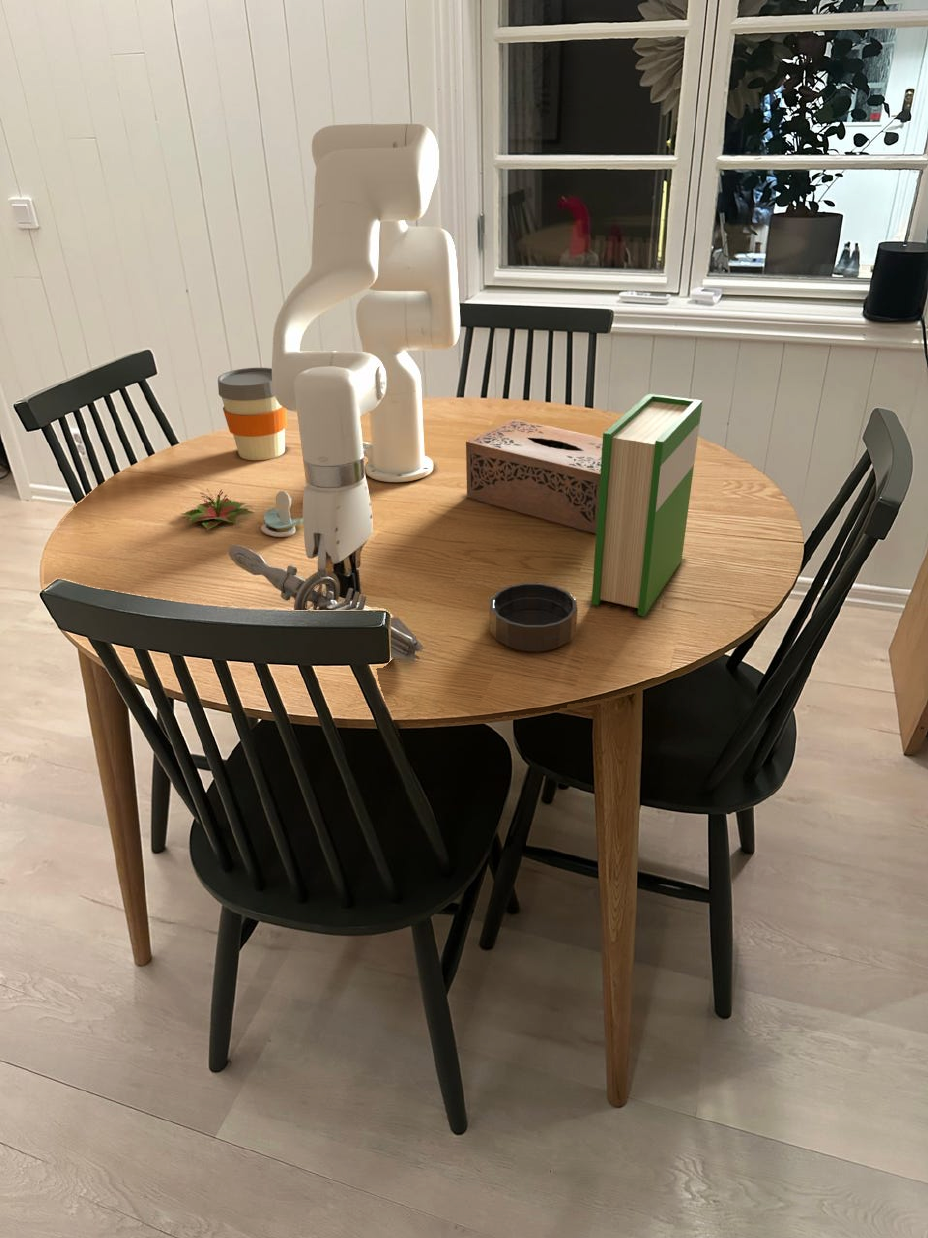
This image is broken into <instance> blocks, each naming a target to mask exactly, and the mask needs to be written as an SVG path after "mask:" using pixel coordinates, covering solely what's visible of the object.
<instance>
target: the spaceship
mask: <svg viewBox="0 0 928 1238" xmlns="http://www.w3.org/2000/svg"><path fill="white" fill-rule="evenodd" d="M227 552H228V556H229V557H230V560H231V561H232V562H233V563H234V564H235V565H236V566H238V567H239V568H240V569H242V570H244V571H246V572H247V573H250V574H251V575H254V576H263V577H264V578H265V579H266V580H267V581H268V582H269V583H270V584H271V585H272V586H273V588H275V589H276V590H279V591H280V592H281V593H280V598H281V599H283V600H285V601H286V602H288V601H290V600H291V598H293V600H294V605H293V611H294V610H308V611H310V610H311V611H313V610H361V611H363V610H365V611H369V610H374V609H372V607H370V606H368V605H366V599H367V596H366V595H365V594H360V593H359V592H355V595H354V598H353V600H351V598H352V593H353V589H351V588H349V590H348V593H347V596H346V598H344V599H343V600H342V601H339V598H340V597H339V594H340V583H339V580H338V578H337V576H336V575H335V574H334V573H333V572H328V574H326V573H325V571H319V572H318V571H317V572H315V573H313V574H311V575H310V576H309V577H307V578H303V577H301V576H299V575H298V574H297V572H298V568H297V567H296V566H295V565H292V564H290V565H287V568H284V567H278V566H272V565H270V564H268V563H267V562H266V561H265V559H264V558H263V557H262V556H261V555H260V554H258V553H257V552H256V551H253V550H251V548H248V547H246V546H243V545H239V544H238V545H237V544H235V545H231V546H229V548H228V551H227ZM323 585H324V586H325V588H324V589H323ZM317 588H318V589H317ZM316 589H317V590H316ZM359 594H360V595H361V597H360V595H359ZM308 602H311V604H310V605H309V606H308ZM390 618H391V657H390V659H396V660H401V659H402V660H407V661H411V662H414V661H415V660H417V659H418V660H421V659H420V657H419V656H418V655H417V654H415V653H416V652H421V651H423V649H424V646H423V645H422V644H421V643H420V641H419V640H418V639H417V638H418V637H416V635H414V633H413V632H412V631H411V630H410V629H409V628H408V626H406V625H405V624H404V622H403V621H402V620H401V619H400V618H399V617H390Z"/></svg>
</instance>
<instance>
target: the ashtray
mask: <svg viewBox="0 0 928 1238" xmlns="http://www.w3.org/2000/svg"><path fill="white" fill-rule="evenodd" d="M577 621H578V603H577V599H576V597H574V596H573V595H572V594H571V593H570V592H569V591H567V590H565V589H563V588H561V587H559V586H557V585H553V584H552V585H551V584H547V583H542V582H522V583H517V584H512V585H508V586H505V587H503V588H501V589H500V590H498V591H496V592H495V593H494V595H492V596H491V598H490V600H489V632H490V633H491V635H492V637H494V639H495V640H496V641H497V642H499V643H501V644H502V645H504V646H506V647H508V648H510V649H513V650H517V651H520V652H526V653H527V652H528V653H540V652H547V651H553V650H555V649H558V648H560V647H562V646H564V645H565V644H567V643H569V642H571V641H572V639H573V637H574V636H575V635H576V632H577V623H578V622H577Z"/></svg>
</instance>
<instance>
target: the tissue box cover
mask: <svg viewBox="0 0 928 1238" xmlns="http://www.w3.org/2000/svg"><path fill="white" fill-rule="evenodd" d="M602 444H603V436H598V435H593V434H589V433H583V432H579V431H575V430H570V429H565V428H561V427H556V426H551V425H547V424H543V423H537V422H533V421H528V420H523V419H519V418H513V419H510V420H508V421H506V422H504V423H502V424H500V425H498V426H495V427H493V428H492V429H489V430H487V431H485V432H483V433H481V434H479V435H476V436H474V437H473V438H471V439H469V440H466V441H465V461H466V462H465V463H466V465H465V466H466V467H465V468H466V469H465V470H466V498H468V499H473V500H476V501H478V502H483V503H487V504H490V505H493V506H497V507H500V508H503V509H506V510H507V509H508V510H511V511H514V512H517V513H521V514H525V515H528V516H531V517H535V518H538V519H542V520H546V521H550V522H552V523H556V524H560V525H563V526H567V527H571V528H573V529H577V530H581V531H584V532H587V533H591V534H594V535H596V531H597V516H598V502H599V487H600V473H601V458H602Z"/></svg>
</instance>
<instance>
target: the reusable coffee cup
mask: <svg viewBox="0 0 928 1238" xmlns="http://www.w3.org/2000/svg"><path fill="white" fill-rule="evenodd" d="M217 389H218V390H217V391H218V396H219V397H220V398H221V400H222V404H223V407H222V410H223V414H224V417H225V421H226V424H227V427H228V430H229V432H230V433H231V434H232V436H233V440H234V443H235V446H236V449H237V452H238V456H239V457H240V458H241V459H244V460H249V461H265V460H271V459H274V458H278V457H280V456H281V455H283V454H284V453H285V451H286V431H285V430H286V428H287V427H288V414H287V413H288V410H287V409H285V408H283V407H282V406H281V405H280V404H279V403H278V401H277V400H276V397H275V395H274V391H273V385H272V367H245V368H238V369H234V370H230V371H226V372H223V373H222V374H220V375H219V376H218V377H217Z"/></svg>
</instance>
